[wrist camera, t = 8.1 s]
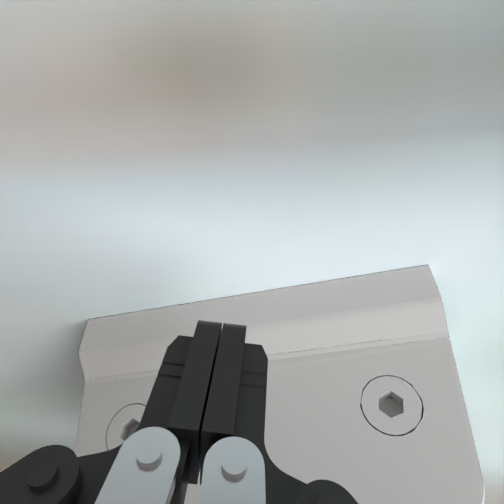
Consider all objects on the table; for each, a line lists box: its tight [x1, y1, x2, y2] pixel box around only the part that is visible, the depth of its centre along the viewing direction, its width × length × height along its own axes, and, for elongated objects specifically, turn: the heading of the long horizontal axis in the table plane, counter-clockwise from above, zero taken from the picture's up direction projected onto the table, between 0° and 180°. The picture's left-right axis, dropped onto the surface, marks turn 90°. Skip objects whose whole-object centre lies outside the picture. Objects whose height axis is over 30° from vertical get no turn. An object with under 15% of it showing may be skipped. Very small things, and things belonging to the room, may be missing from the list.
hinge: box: [74, 265, 485, 504], centre depth 15 cm, size 17×5×10 cm, turn 104°
